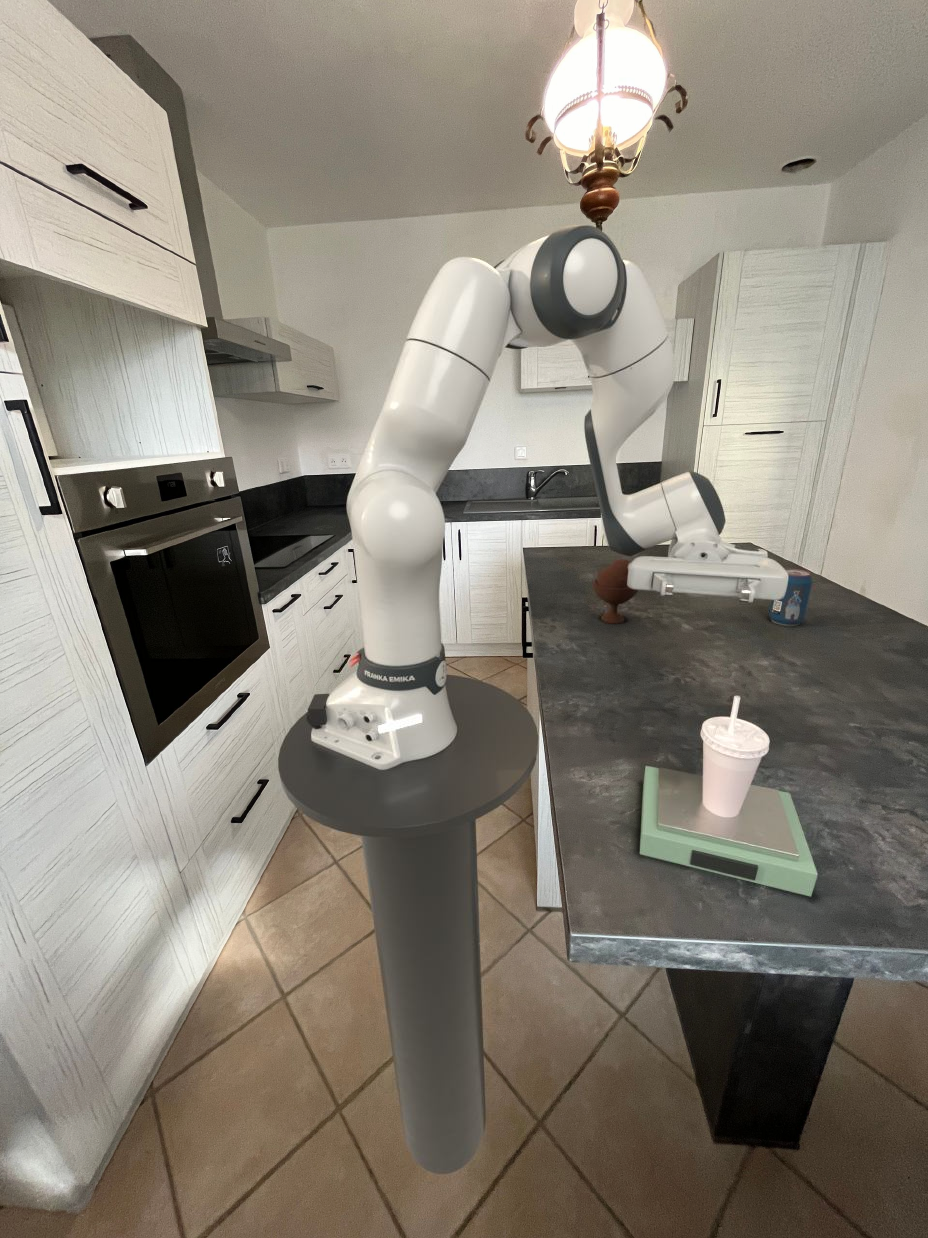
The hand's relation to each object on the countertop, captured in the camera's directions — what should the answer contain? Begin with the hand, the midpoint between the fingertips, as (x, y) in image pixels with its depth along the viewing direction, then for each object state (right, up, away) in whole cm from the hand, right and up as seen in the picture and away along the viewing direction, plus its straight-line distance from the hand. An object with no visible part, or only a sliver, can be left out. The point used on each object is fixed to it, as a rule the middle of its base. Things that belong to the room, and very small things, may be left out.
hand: (706, 593), depth 63 cm
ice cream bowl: (+5, -4, +56) cm, 56 cm away
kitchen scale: (-3, -28, -7) cm, 29 cm away
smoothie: (-3, -24, -8) cm, 26 cm away
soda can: (+44, -4, +51) cm, 67 cm away
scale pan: (-3, -25, -8) cm, 27 cm away
